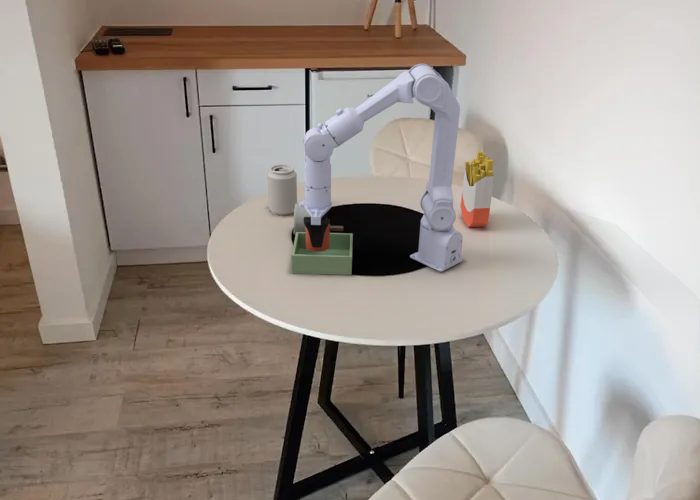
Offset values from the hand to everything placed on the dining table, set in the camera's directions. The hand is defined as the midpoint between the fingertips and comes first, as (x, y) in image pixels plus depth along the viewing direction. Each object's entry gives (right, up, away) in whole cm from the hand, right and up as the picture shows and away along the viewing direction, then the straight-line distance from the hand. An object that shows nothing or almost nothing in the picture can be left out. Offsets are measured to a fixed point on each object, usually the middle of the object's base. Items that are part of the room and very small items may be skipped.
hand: (317, 240), depth 153 cm
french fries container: (+39, +5, +23) cm, 46 cm away
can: (-10, +8, +27) cm, 30 cm away
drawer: (+1, -5, +2) cm, 5 cm away
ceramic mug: (-3, +2, +16) cm, 17 cm away
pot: (+1, -1, +1) cm, 2 cm away
